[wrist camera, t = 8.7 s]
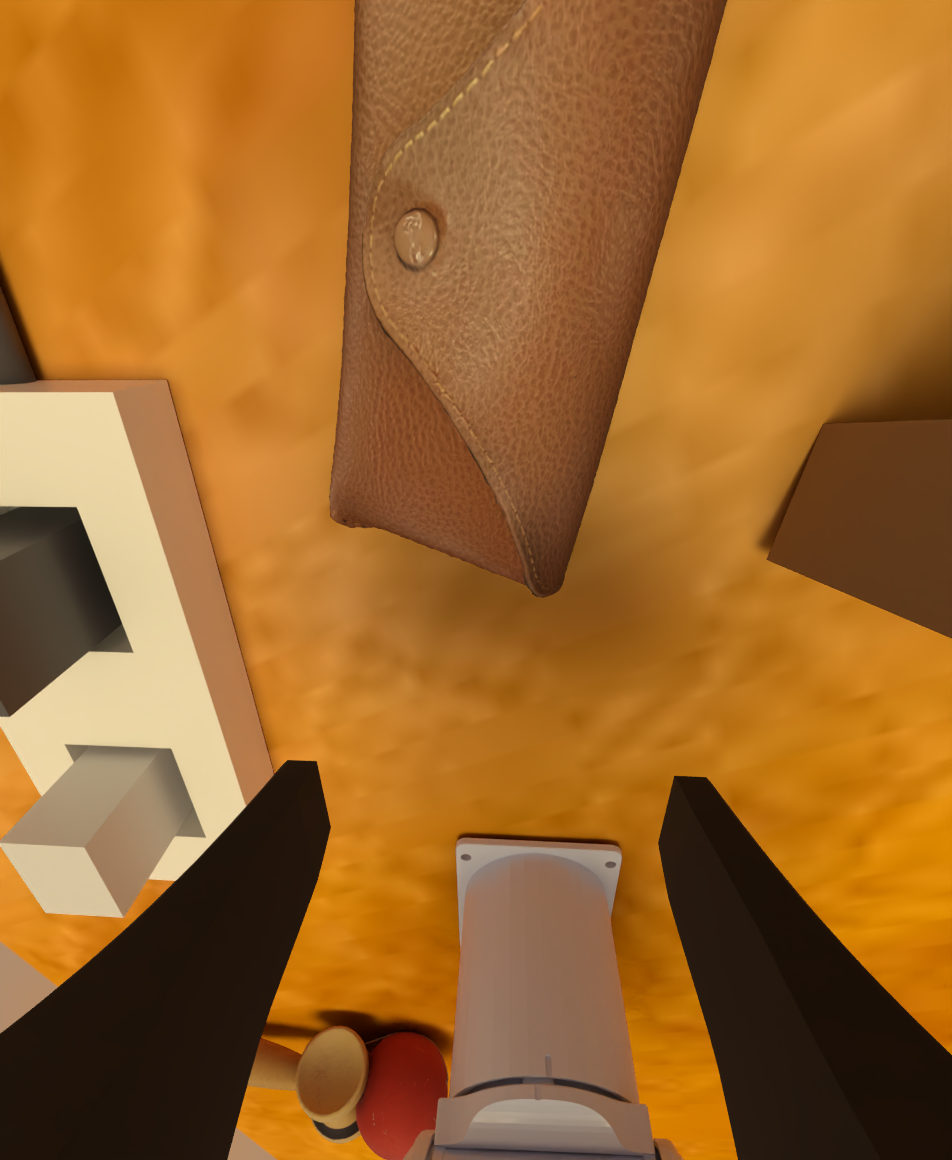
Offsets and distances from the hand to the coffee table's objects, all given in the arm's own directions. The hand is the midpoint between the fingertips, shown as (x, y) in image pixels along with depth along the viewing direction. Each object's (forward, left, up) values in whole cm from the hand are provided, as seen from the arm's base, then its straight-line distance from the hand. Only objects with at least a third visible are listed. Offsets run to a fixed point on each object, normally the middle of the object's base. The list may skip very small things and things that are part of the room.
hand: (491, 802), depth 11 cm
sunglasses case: (+10, +1, -10) cm, 14 cm away
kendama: (-36, +12, -10) cm, 40 cm away
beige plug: (-9, +15, -9) cm, 19 cm away
